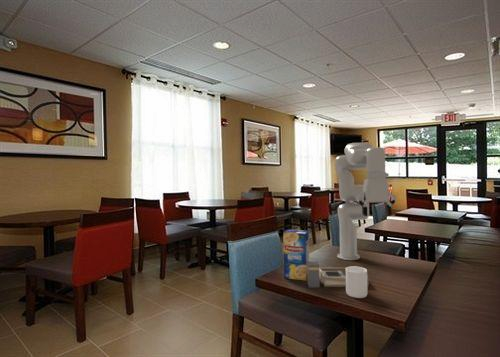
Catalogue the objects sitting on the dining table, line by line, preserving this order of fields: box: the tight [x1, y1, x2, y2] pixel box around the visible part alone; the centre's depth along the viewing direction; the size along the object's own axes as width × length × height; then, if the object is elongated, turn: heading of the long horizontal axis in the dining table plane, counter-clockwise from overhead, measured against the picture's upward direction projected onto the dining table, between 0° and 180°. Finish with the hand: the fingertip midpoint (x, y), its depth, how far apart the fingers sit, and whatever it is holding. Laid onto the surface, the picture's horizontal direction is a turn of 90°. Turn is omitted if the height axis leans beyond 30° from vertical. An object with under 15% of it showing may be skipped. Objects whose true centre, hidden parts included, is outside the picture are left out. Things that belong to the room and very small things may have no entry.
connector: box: [307, 261, 321, 288], centre depth 131 cm, size 5×5×10 cm
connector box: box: [319, 267, 370, 288], centre depth 135 cm, size 14×19×4 cm
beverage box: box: [282, 229, 310, 282], centre depth 142 cm, size 7×11×22 cm, turn 67°
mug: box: [345, 265, 368, 299], centre depth 122 cm, size 12×8×10 cm
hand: (376, 215), depth 127 cm, fingers open, 9 cm apart
